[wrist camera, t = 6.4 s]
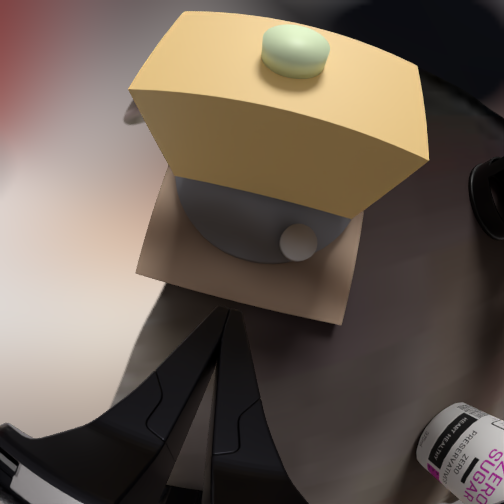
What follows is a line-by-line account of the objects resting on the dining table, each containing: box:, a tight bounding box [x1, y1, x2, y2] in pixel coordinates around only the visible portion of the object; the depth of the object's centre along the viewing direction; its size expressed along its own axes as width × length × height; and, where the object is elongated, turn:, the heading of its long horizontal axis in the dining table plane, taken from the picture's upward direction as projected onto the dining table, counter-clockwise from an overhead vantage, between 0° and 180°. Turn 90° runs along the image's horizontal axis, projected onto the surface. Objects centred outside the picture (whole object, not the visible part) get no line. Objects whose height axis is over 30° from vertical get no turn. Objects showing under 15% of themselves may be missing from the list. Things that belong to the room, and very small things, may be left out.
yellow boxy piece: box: [128, 11, 429, 219], centre depth 13 cm, size 6×13×10 cm, turn 76°
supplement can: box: [416, 402, 504, 504], centre depth 13 cm, size 8×8×15 cm
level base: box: [136, 165, 364, 325], centre depth 21 cm, size 20×16×4 cm
